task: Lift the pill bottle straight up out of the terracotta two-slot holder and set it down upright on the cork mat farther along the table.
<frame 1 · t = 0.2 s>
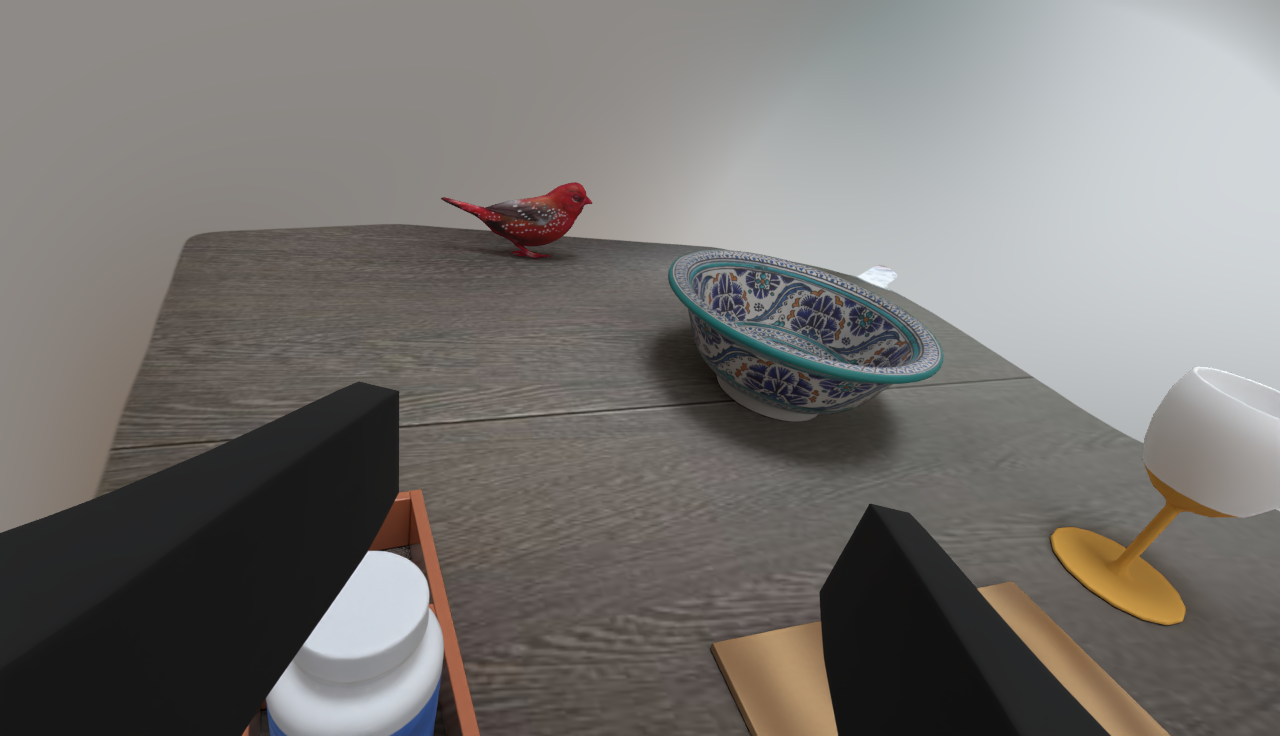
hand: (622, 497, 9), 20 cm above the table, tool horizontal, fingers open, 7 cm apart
mat: (968, 728, 30), on the table
holder: (351, 679, 25), on the table
bowl: (767, 391, 57), on the table
cup: (1112, 574, 45), on the table
decorative bird figurine: (513, 257, 72), on the table
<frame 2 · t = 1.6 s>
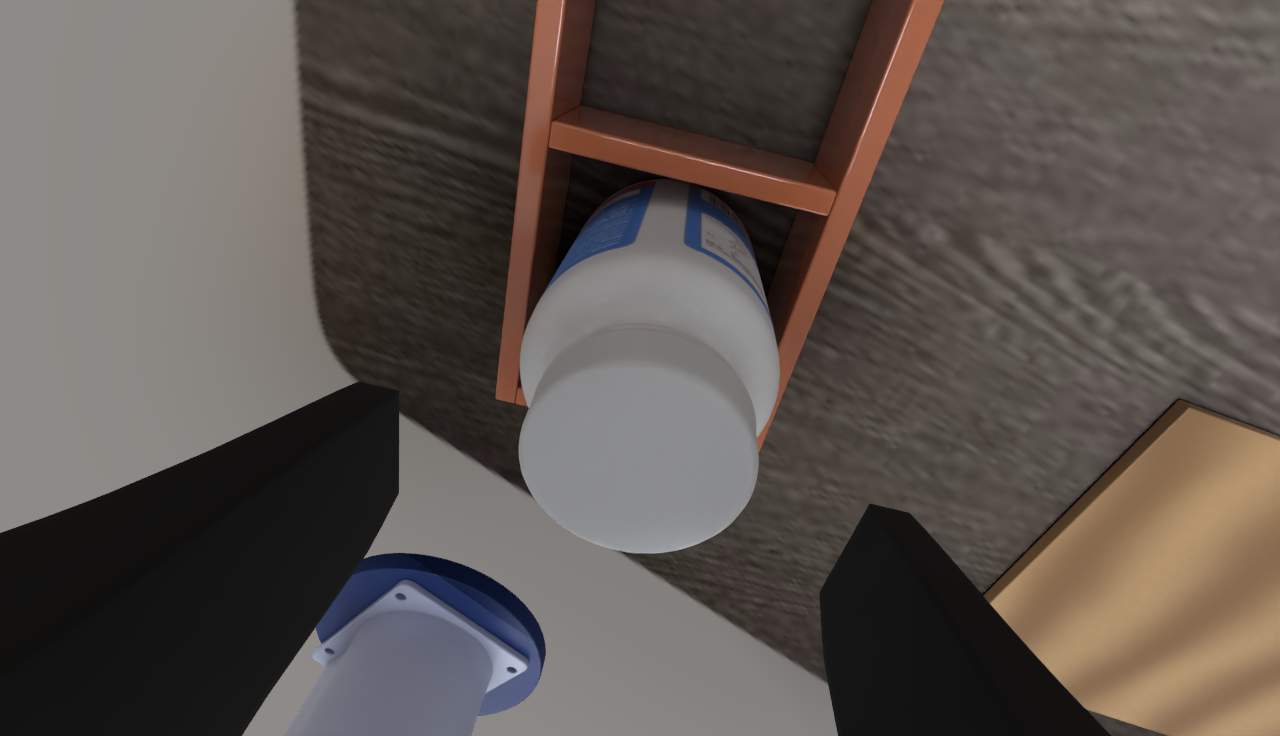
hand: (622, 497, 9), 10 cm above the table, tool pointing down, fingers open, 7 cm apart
holder: (695, 144, 16), on the table
pill bottle: (666, 263, 18), resting in holder
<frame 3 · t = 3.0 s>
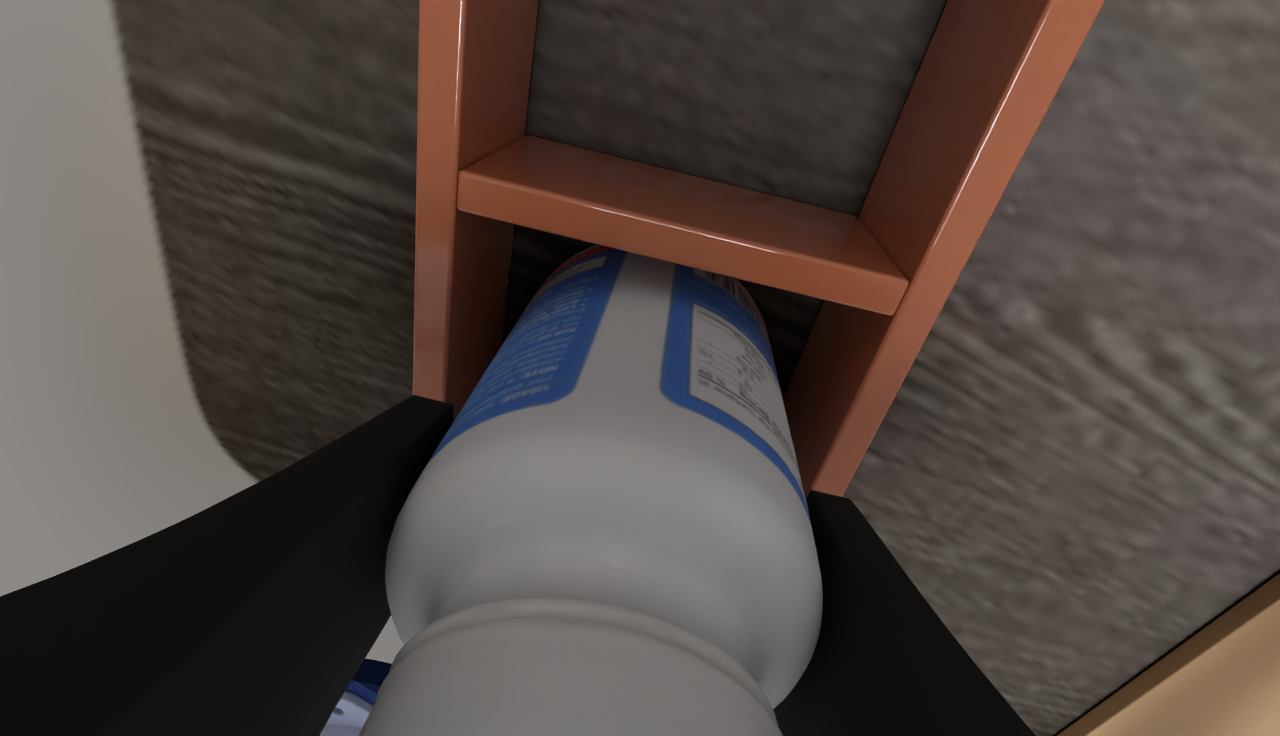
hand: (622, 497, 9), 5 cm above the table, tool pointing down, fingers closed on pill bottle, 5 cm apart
holder: (688, 190, 11), on the table
pill bottle: (648, 343, 13), resting in holder, touching gripper
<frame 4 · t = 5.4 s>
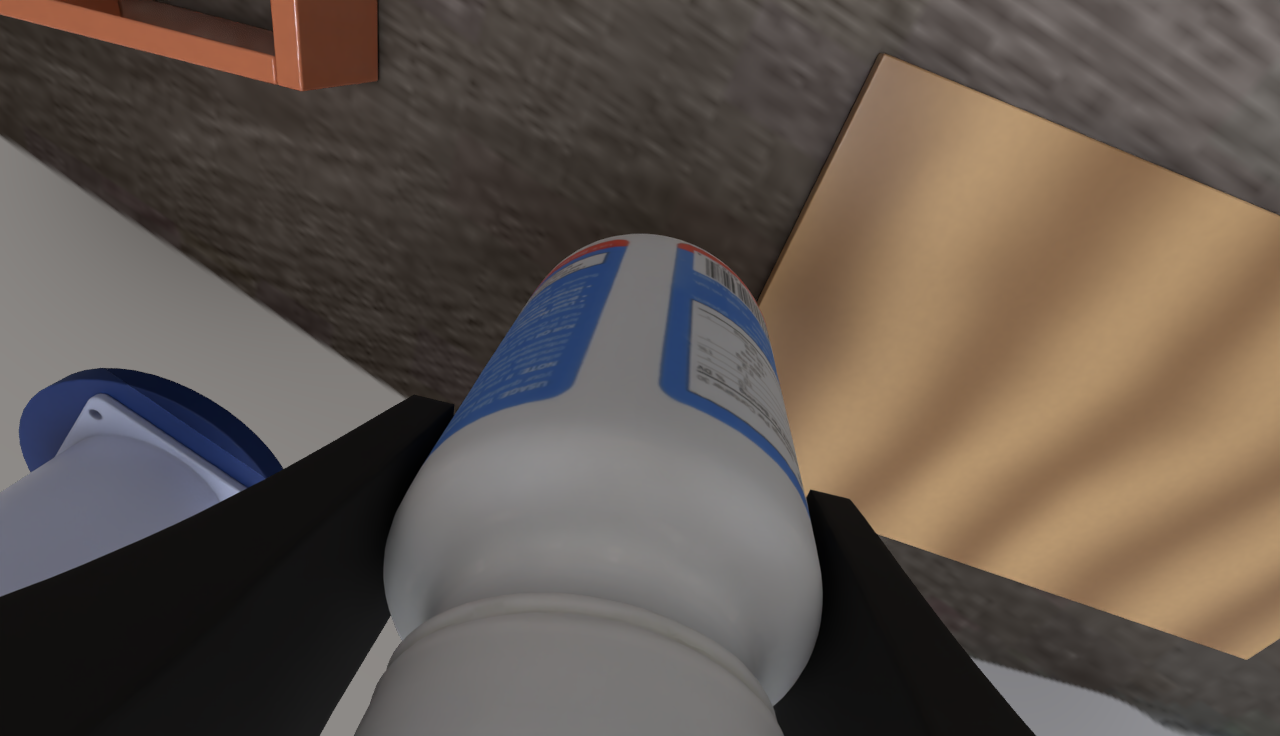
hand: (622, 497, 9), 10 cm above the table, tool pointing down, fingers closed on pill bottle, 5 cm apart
mat: (1099, 419, 19), on the table
pill bottle: (648, 341, 13), point 5 cm above the table, touching gripper
when the fingers open (5 cm above the table, at t = 7.7 s): pill bottle stays where it is, resting on mat.
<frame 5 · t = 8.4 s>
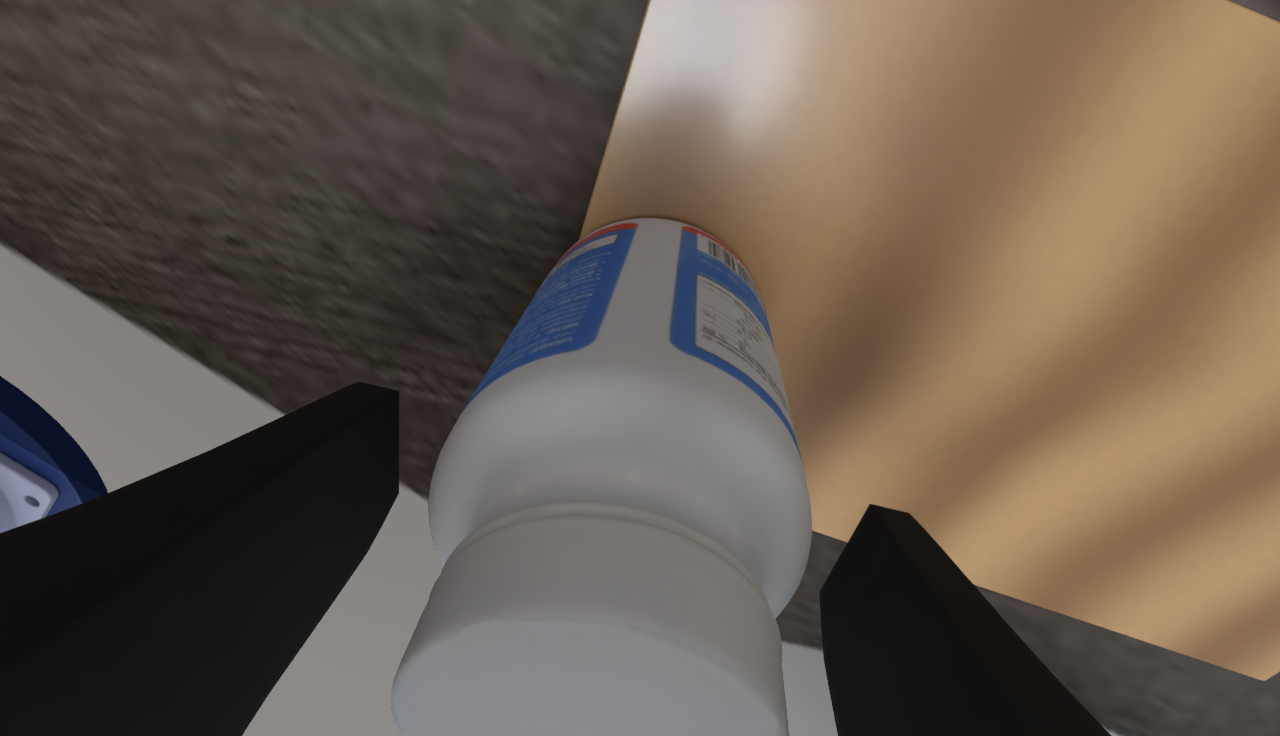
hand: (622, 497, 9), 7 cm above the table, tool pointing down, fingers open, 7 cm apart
mat: (1065, 363, 14), on the table
pill bottle: (654, 320, 14), resting on mat
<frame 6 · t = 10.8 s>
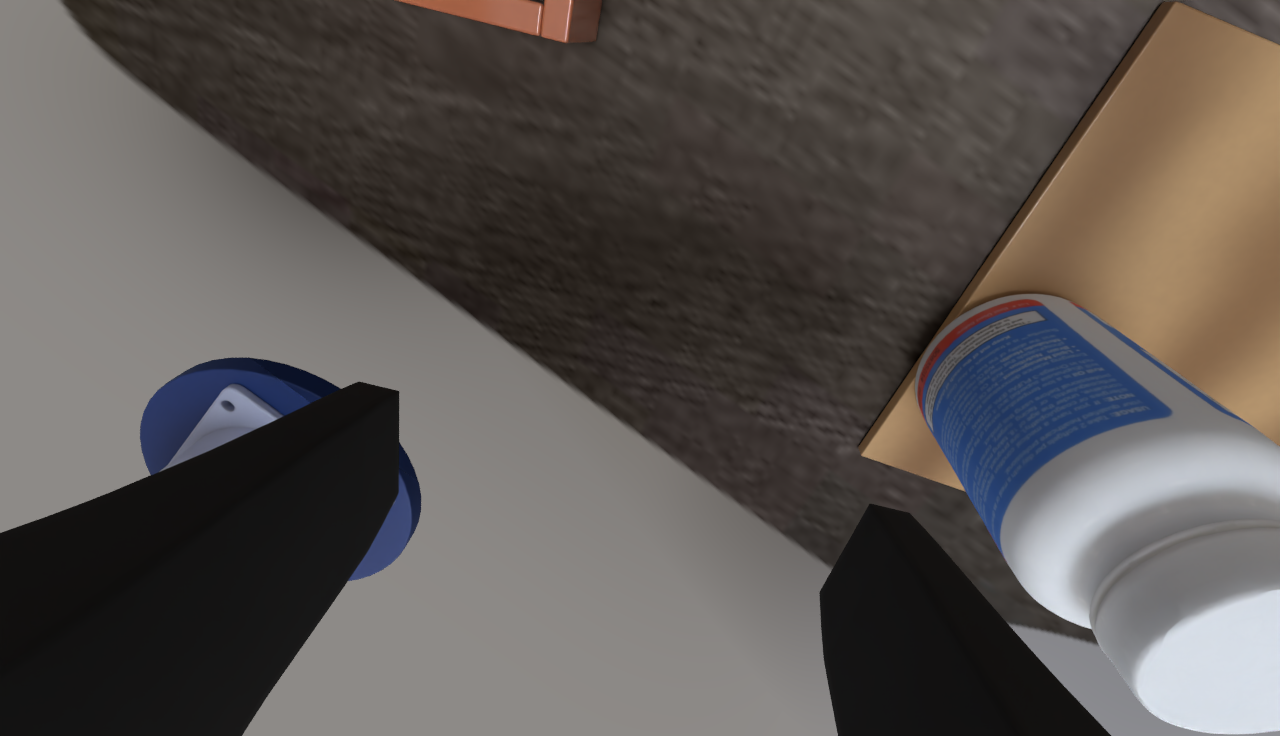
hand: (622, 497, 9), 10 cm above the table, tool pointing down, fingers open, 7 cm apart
pill bottle: (1001, 367, 18), resting on mat
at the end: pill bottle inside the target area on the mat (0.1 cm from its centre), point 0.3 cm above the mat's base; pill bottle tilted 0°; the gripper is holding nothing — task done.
